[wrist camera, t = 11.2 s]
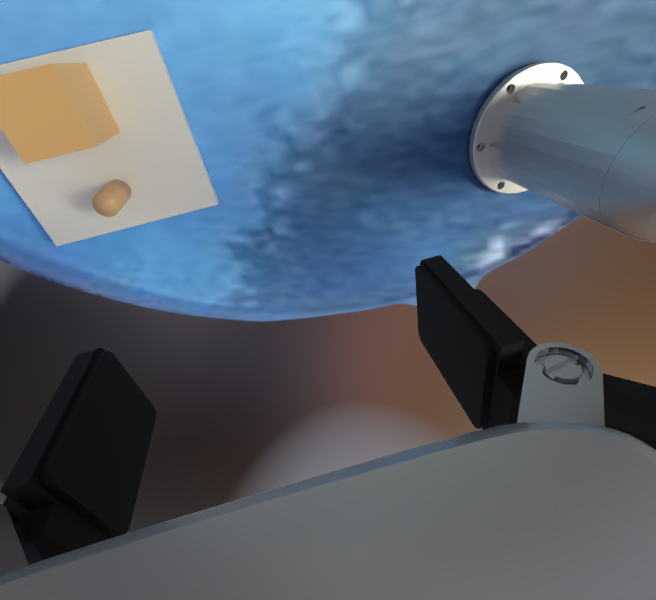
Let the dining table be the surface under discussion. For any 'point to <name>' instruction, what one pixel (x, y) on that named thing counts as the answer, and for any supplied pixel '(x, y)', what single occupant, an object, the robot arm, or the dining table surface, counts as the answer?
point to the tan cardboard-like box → (54, 111)
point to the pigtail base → (116, 149)
